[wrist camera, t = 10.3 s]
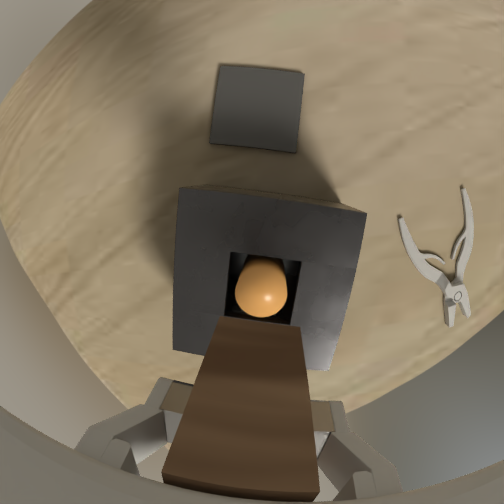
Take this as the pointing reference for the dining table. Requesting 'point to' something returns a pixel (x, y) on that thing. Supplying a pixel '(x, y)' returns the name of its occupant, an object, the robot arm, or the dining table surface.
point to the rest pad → (257, 108)
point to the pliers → (456, 288)
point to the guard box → (270, 245)
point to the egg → (261, 286)
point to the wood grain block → (248, 418)
